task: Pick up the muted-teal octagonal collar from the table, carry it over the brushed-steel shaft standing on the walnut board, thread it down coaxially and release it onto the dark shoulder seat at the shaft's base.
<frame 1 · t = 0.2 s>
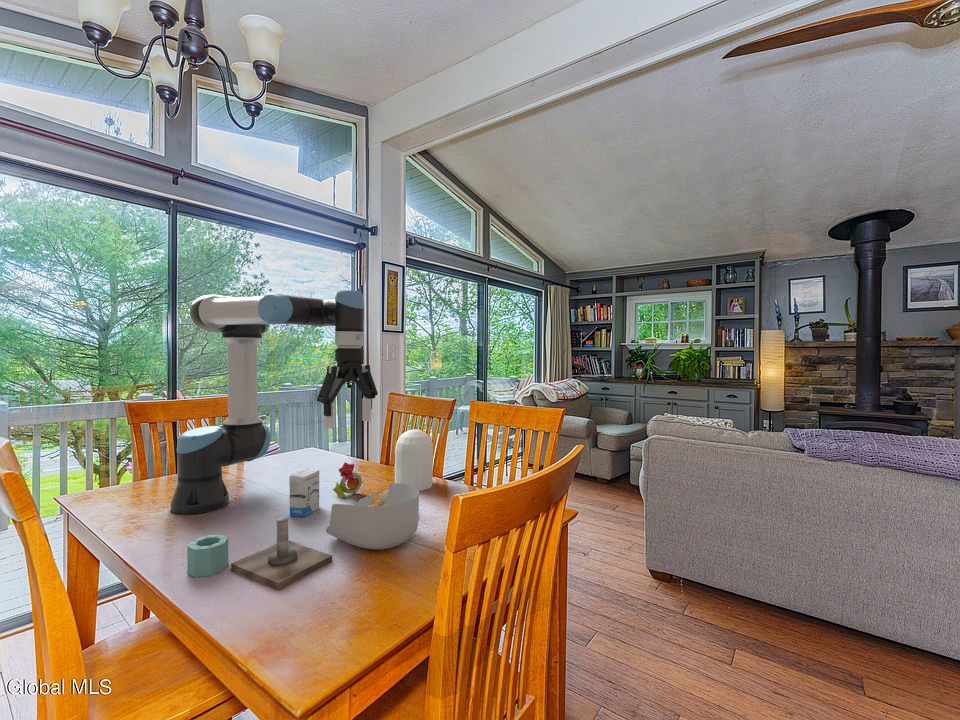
hand: (349, 424, 124), 28 cm above the table, fingers open, 13 cm apart
bowl: (380, 539, 116), on the table
shaft board: (282, 565, 101), on the table
collar: (208, 568, 100), on the table
bird rattle: (347, 496, 149), on the table
ink box: (304, 512, 134), on the table
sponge: (393, 513, 134), on the table
container: (413, 485, 160), on the table
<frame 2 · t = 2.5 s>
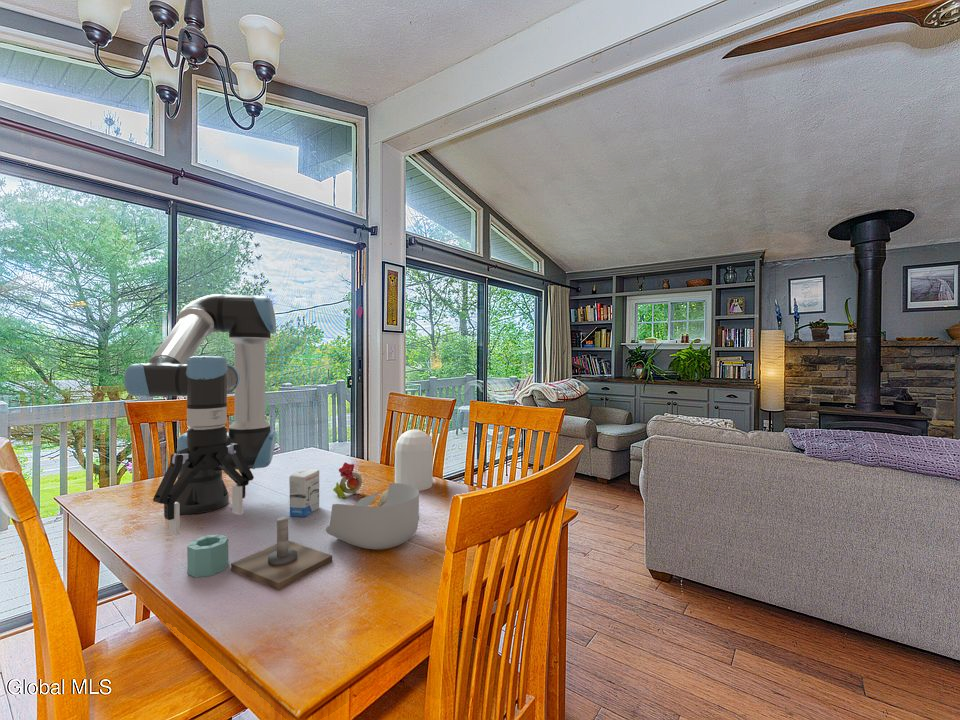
hand: (207, 523, 99), 10 cm above the table, fingers open, 13 cm apart
nothing on the table moved.
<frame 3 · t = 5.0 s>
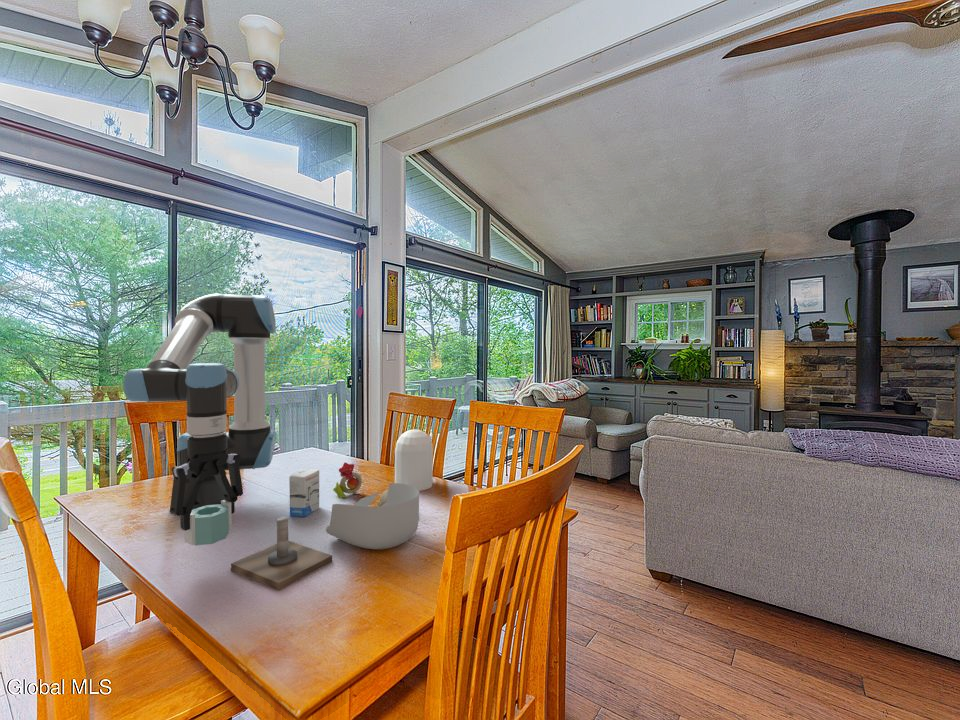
hand: (209, 535, 100), 7 cm above the table, fingers closed on collar, 7 cm apart
collar: (209, 537, 100), point 7 cm above the table, touching gripper
everything else where it was.
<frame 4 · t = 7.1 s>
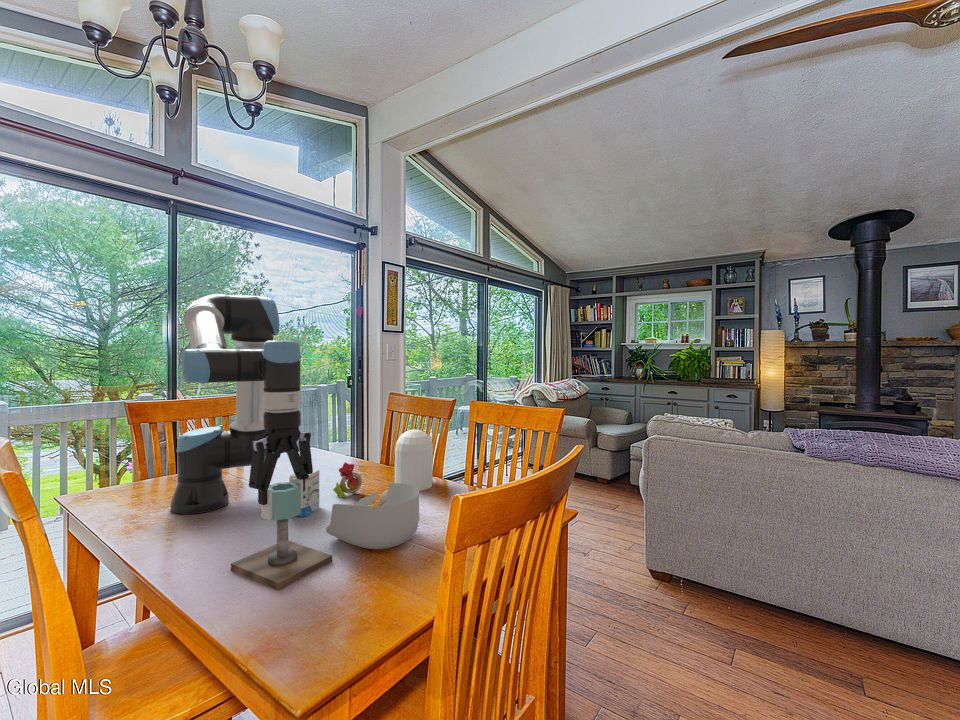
hand: (282, 512, 100), 12 cm above the table, fingers closed on collar, 7 cm apart
collar: (282, 513, 100), point 12 cm above the table, touching gripper
everything else where it was.
when the fingers open (4 cm above the table, at t = 9.1 s): collar stays where it is, resting on shaft board.
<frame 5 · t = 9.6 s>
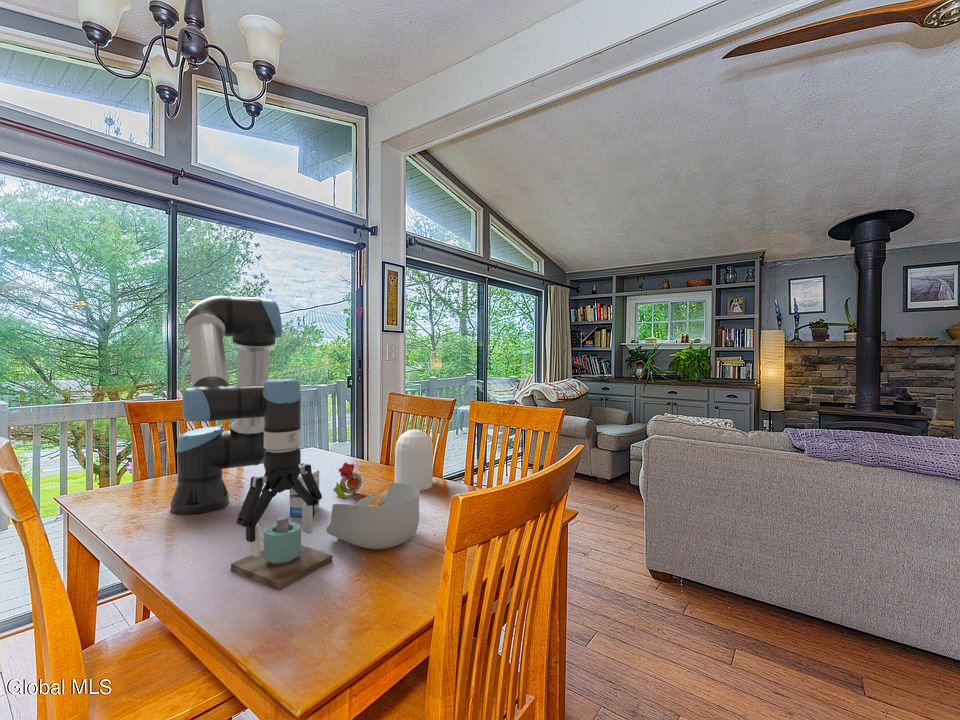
hand: (282, 543, 101), 5 cm above the table, fingers open, 13 cm apart
collar: (282, 554, 101), point 2 cm above the table, touching shaft board
everything else where it was.
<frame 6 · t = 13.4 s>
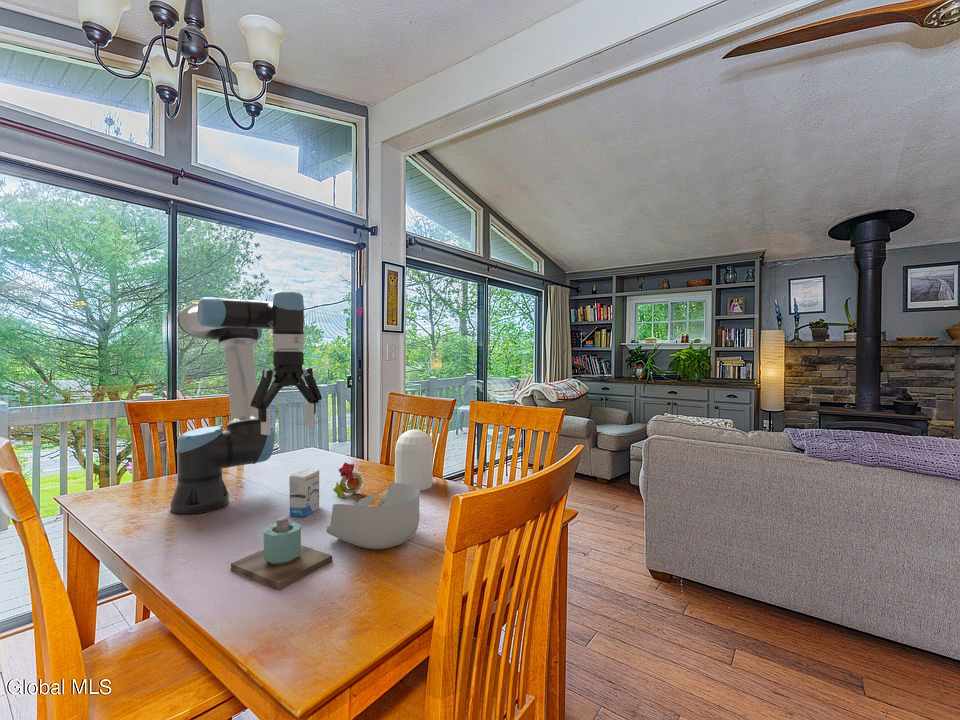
hand: (288, 430, 120), 27 cm above the table, fingers open, 13 cm apart
nothing on the table moved.
at the end: collar 0.0 cm off-centre on the shaft board, point 2.5 cm above the shaft board's base; the gripper is holding nothing; collar tilted 0° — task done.
